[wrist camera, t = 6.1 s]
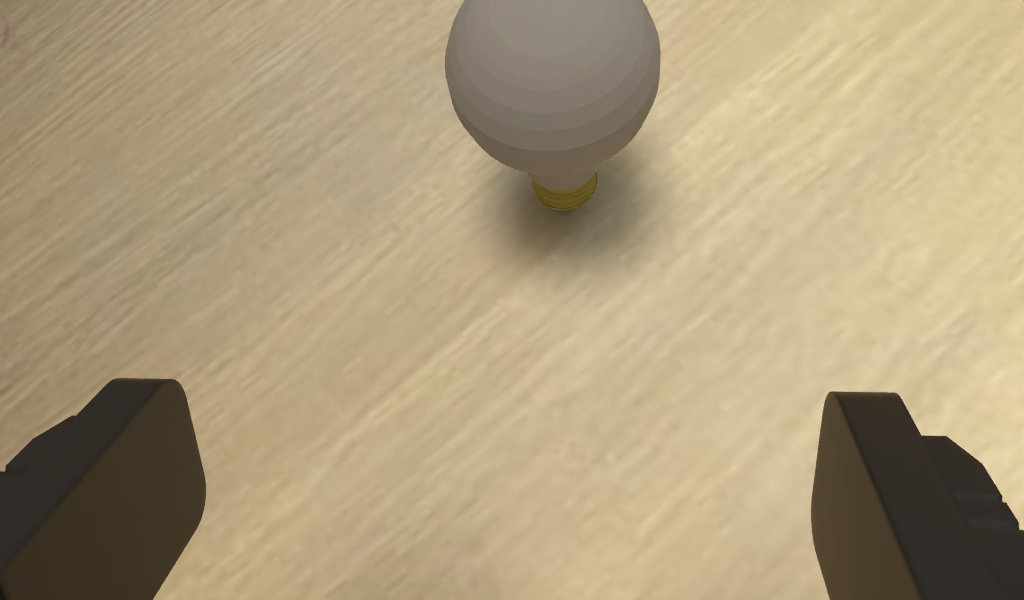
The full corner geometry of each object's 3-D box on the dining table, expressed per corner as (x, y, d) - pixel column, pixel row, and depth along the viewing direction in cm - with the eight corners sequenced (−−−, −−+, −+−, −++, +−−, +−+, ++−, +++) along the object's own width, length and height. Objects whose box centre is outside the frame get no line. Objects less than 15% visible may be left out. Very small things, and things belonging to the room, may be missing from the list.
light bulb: (450, 203, 30) (379, 18, 21) (555, 90, 31) (532, -136, 22) (576, 300, 28) (560, 146, 19) (681, 178, 30) (716, -25, 20)
